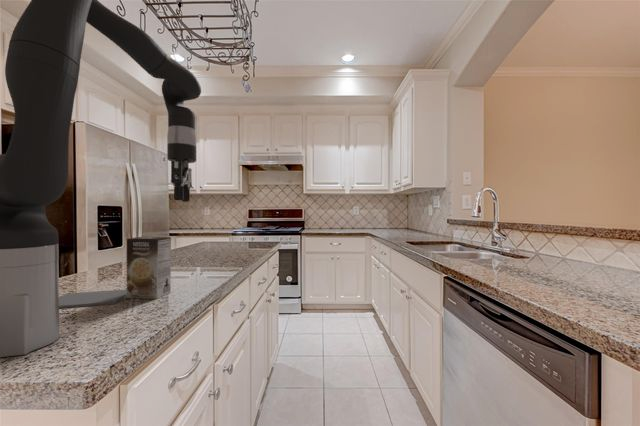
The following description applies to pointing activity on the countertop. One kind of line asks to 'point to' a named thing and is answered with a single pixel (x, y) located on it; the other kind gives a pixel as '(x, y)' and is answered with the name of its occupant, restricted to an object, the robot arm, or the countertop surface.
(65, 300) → the mat
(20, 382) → the countertop surface
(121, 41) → the robot arm
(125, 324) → the countertop surface
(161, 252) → the coffee box
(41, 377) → the countertop surface
